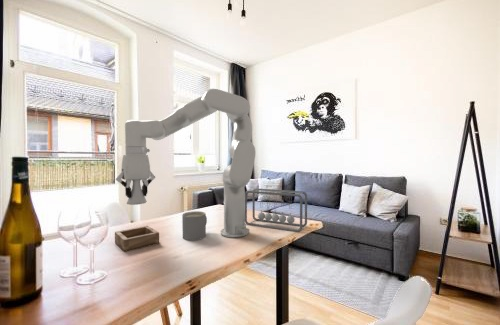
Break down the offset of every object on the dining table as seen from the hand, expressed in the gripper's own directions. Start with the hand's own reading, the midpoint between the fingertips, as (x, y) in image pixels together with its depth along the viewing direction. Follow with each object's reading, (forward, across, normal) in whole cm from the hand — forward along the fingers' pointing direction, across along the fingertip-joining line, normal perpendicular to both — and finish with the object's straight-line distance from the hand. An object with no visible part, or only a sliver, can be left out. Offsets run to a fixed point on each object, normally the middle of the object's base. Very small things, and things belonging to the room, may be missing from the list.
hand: (136, 196), depth 98 cm
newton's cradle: (+20, -60, +22) cm, 66 cm away
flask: (+3, 0, 0) cm, 3 cm away
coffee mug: (+19, -23, +8) cm, 31 cm away
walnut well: (+19, 0, 0) cm, 19 cm away
